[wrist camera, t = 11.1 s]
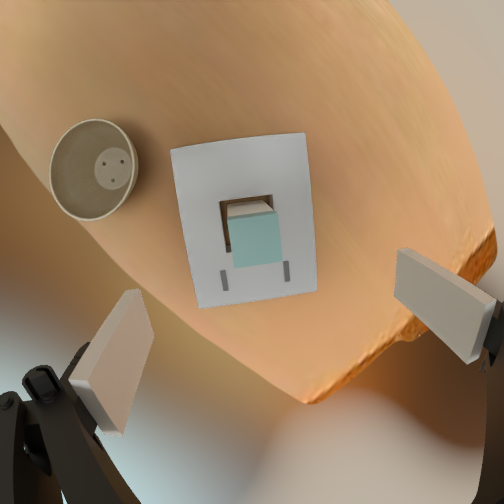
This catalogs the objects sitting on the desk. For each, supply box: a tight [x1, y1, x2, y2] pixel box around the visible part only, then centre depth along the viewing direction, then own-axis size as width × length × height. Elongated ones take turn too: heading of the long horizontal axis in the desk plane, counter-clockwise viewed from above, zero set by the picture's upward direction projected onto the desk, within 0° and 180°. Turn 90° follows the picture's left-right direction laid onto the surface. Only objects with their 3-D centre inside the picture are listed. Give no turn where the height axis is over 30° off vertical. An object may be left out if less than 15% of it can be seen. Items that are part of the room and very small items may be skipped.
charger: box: [227, 200, 283, 269], centre depth 28 cm, size 4×4×10 cm
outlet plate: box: [170, 133, 317, 309], centre depth 31 cm, size 18×14×3 cm
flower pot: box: [49, 118, 139, 221], centre depth 26 cm, size 10×10×7 cm
